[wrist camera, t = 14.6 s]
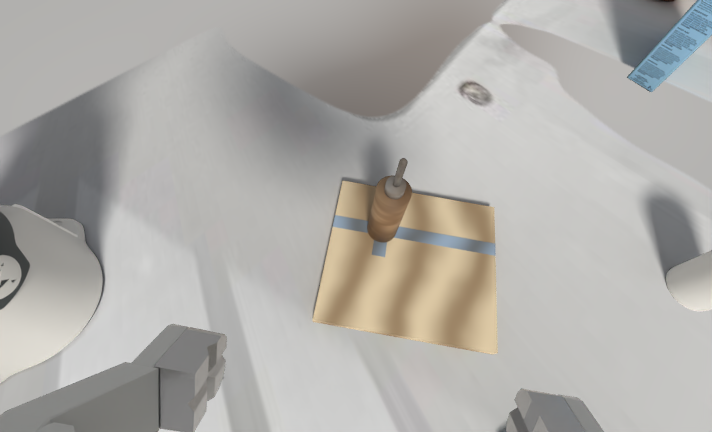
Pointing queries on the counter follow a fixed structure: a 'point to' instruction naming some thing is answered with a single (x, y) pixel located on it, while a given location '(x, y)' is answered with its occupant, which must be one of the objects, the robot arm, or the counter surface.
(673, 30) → the gum box
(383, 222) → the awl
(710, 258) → the white cup
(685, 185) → the counter surface
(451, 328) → the plywood panel
